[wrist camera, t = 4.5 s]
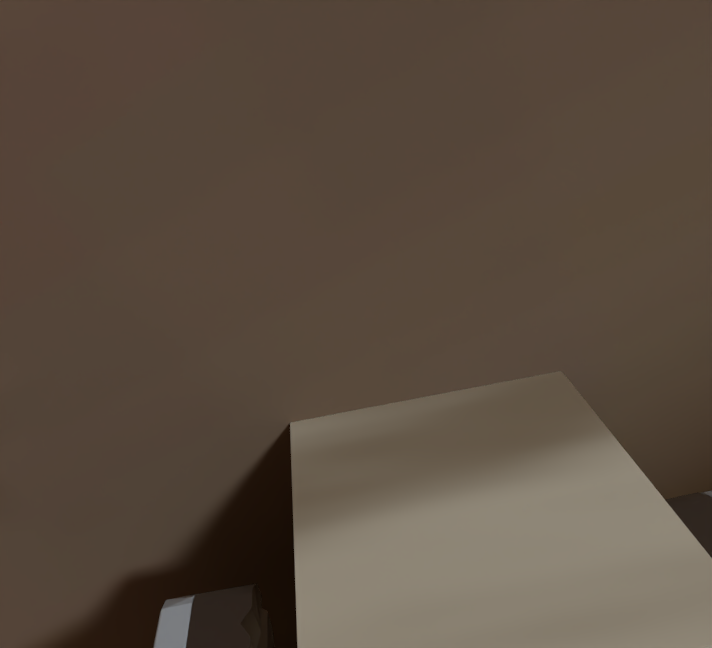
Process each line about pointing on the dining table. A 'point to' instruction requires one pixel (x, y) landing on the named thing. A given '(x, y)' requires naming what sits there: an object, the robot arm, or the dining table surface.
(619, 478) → the birch cube
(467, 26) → the dining table surface
